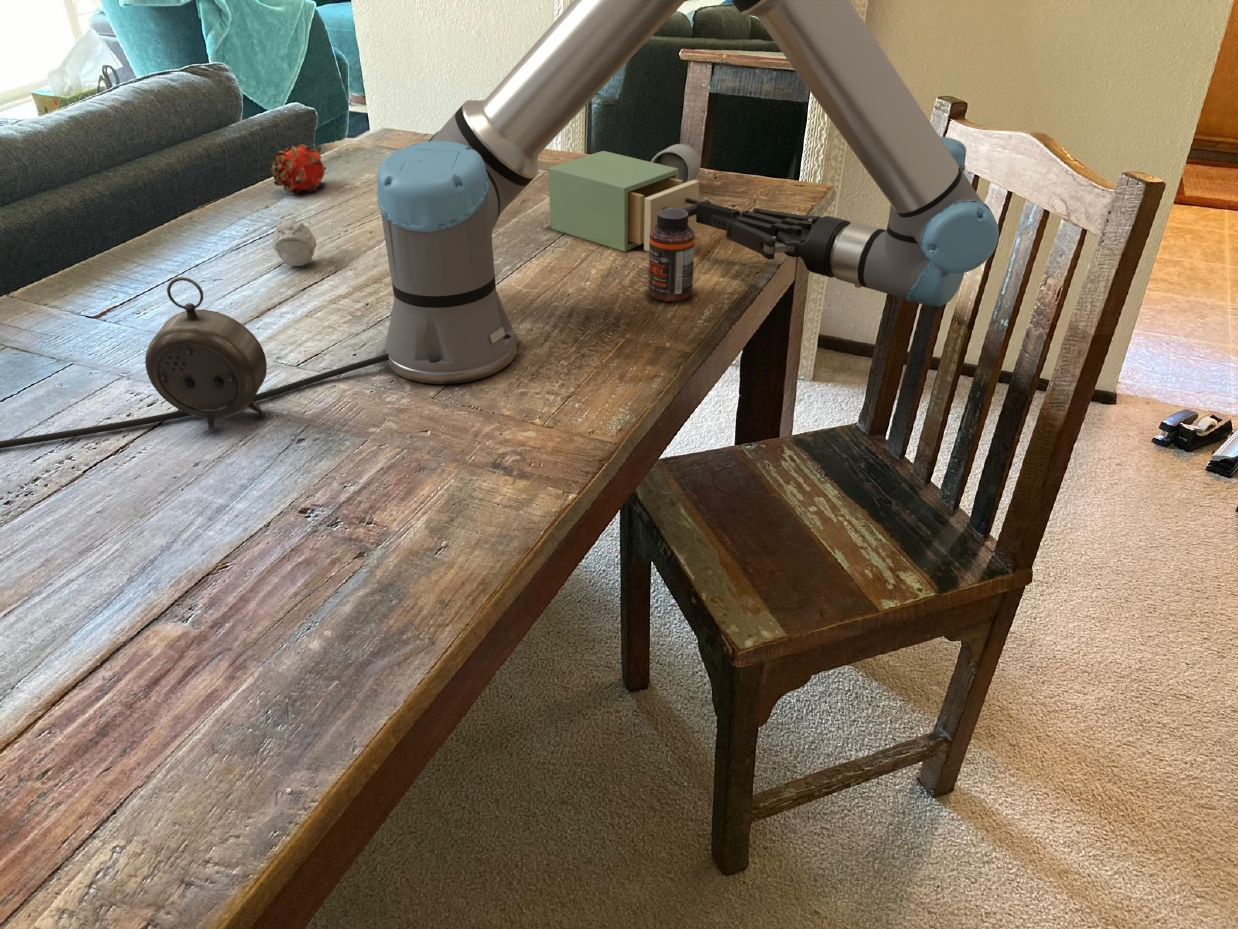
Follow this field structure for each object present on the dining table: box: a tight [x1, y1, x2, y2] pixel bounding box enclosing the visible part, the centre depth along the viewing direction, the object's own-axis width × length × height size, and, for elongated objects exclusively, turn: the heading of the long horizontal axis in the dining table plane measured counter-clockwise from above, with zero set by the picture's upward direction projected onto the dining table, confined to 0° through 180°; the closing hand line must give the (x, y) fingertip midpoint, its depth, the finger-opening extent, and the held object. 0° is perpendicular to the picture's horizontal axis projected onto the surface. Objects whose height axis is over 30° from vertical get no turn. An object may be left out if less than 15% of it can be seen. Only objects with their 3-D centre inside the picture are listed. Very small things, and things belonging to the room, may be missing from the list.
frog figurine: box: [271, 218, 317, 267], centre depth 133 cm, size 6×7×7 cm
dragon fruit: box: [269, 143, 327, 195], centre depth 163 cm, size 8×8×12 cm
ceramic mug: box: [650, 143, 701, 183], centre depth 162 cm, size 11×8×8 cm
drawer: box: [628, 177, 712, 252], centre depth 140 cm, size 19×11×8 cm, turn 49°
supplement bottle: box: [648, 208, 696, 303], centre depth 122 cm, size 6×6×11 cm
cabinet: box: [547, 150, 679, 252], centre depth 144 cm, size 16×13×10 cm
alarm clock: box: [144, 276, 268, 433], centre depth 94 cm, size 11×5×16 cm, turn 90°
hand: (699, 211), depth 134 cm, fingers closed
